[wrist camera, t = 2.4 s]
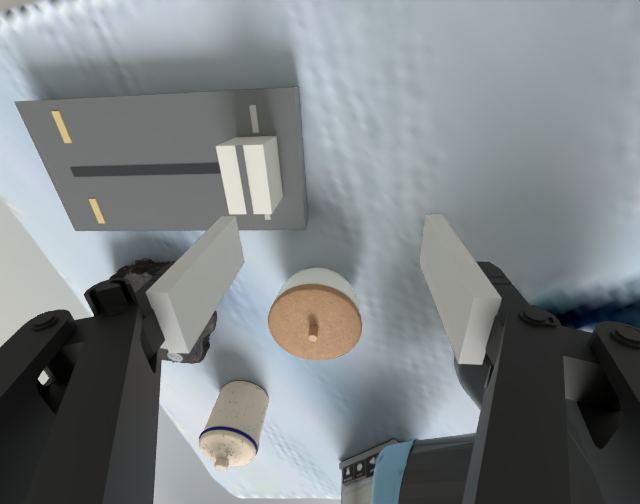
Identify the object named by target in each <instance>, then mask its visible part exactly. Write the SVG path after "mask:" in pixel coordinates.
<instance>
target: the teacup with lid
mask: <svg viewBox="0 0 640 504" xmlns="http://www.w3.org/2000/svg"><path fill="white" fill-rule="evenodd" d="M268 402H269V400H268V396H267V394H266V393H265V391H264V390H263V389H262V388H260V387H259V386H257V385H255V384H253V383H250V382H246V381H233V382H230V383H228V384H226V385H225V386H224V387H223V388H222V390H221V392H220V394H219V397H218V399H217V401H216V404H215V406H214V408H213V411H212V413H211V415H210V418H209V420H208V422H207V425H206V427H205V429H204V431H203V432H202V433H201V435H200V437H199V447H200V449H201V451H202V452H203V454H204V455H205V456H207V457H208V458H209V459H211V460H213V461H214V462H215V468H216V469H217V470H219V471H225V470H227V469H228V466H239V465H244V464H247V463H249V462H251V461H252V460H253V459H254V457H255V456H256V454H257V452H258V448H259V437H260V434H261V430H262V426H263V422H264V418H265V415H266V411H267V407H268Z"/></svg>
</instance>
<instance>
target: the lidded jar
mask: <svg viewBox="0 0 640 504" xmlns="http://www.w3.org/2000/svg"><path fill="white" fill-rule="evenodd" d="M268 326H269V330H270V333H271V334H272V336H273V338H274V340H275V341H276V342H277V343H278V344H279V345H280V346H281V347H282V348H283V349H285V350H286V351H287V352H289V353H291V354H293V355H295V356H298V357H301V358H304V359H309V360H329V359H333V358H337V357H339V356H341V355H344V354H345V353H347V352H348V351H350V350H351V349H352V348H353V347H354V346H355V345H356V343H357V342H358V340H359V338H360V335H361V331H362V322H361V315H360V308H359V303H358V299H357V296H356V294H355V291H354V289H353V288H352V286H351V285H350V284H349V282H348V281H347V280H346V279H345V278H344V277H343V276H341V275H340V274H338V273H336V272H334V271H332V270H329V269H325V268H309V269H305V270H302V271H300V272H298V273H296V274H294V275H293V276H291V277H290V278H289V279H288V280H287V281H286V282H285V284H284V285H283V286H282V287H281V289H280V291H279V292H278V294H277V296H276V299H275V301H274V303H273V305H272V307H271V309H270V312H269V316H268Z"/></svg>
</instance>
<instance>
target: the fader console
mask: <svg viewBox="0 0 640 504" xmlns="http://www.w3.org/2000/svg"><path fill="white" fill-rule="evenodd" d="M15 104H16V106H17V109H18V111H19V113H20V115H21V117H22V119H23V121H24V123H25V125H26V128H27V130H28V132H29V134H30V136H31V138H32V140H33V142H34V144H35V147H36V149H37V151H38V153H39V155H40V157H41V159H42V161H43V164H44V166H45V168H46V170H47V172H48V174H49V176H50V178H51V180H52V183H53V185H54V187H55V189H56V191H57V193H58V195H59V197H60V199H61V202H62V204H63V206H64V208H65V210H66V212H67V214H68V216H69V219H70V221H71V223H72V225H73V227H74V229H75V231H191V230H208V229H209V228H210V227H211V226H212V225H213V224H214V223H215V222H216V221H217V220H218V219H219V218H220V217H221V216H236V220H237V226H238V230H305V228H306V225H307V222H308V210H307V195H306V181H305V166H304V152H303V137H302V123H301V108H300V94H299V87H285V88H266V89H247V90H228V91H209V92H190V93H171V94H152V95H133V96H114V97H95V98H76V99H56V100H37V101H18V102H15ZM257 136H276V137H277V146H278V155H279V165H280V174H281V183H282V193H283V197H282V199H281V200H280V202H279V204H278V205H277V207H276V208H275V210H274V212H273V213H272V214H254V215H247V214H229V210H228V205H227V200H226V195H225V190H224V185H223V180H222V175H221V170H220V165H219V160H218V155H217V150H216V146H217V145H219V144H222V143H224V142H226V141H229V140H231V139H233V138H235V137H257Z"/></svg>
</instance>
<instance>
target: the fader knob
mask: <svg viewBox="0 0 640 504" xmlns="http://www.w3.org/2000/svg"><path fill="white" fill-rule="evenodd" d="M216 150H217V155H218V160H219V165H220V170H221V175H222V180H223V185H224V190H225V195H226V200H227V205H228V210H229V214H247V215H254V214H272V213H273V212H274V210H275V208H276V207H277V205H278V204H279V202H280V200H281V199H282V197H283V193H282V183H281V174H280V165H279V155H278V146H277V137H276V136H257V137H235V138H233V139H231V140H229V141H226V142H224V143H222V144H219V145H217V146H216Z"/></svg>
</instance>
